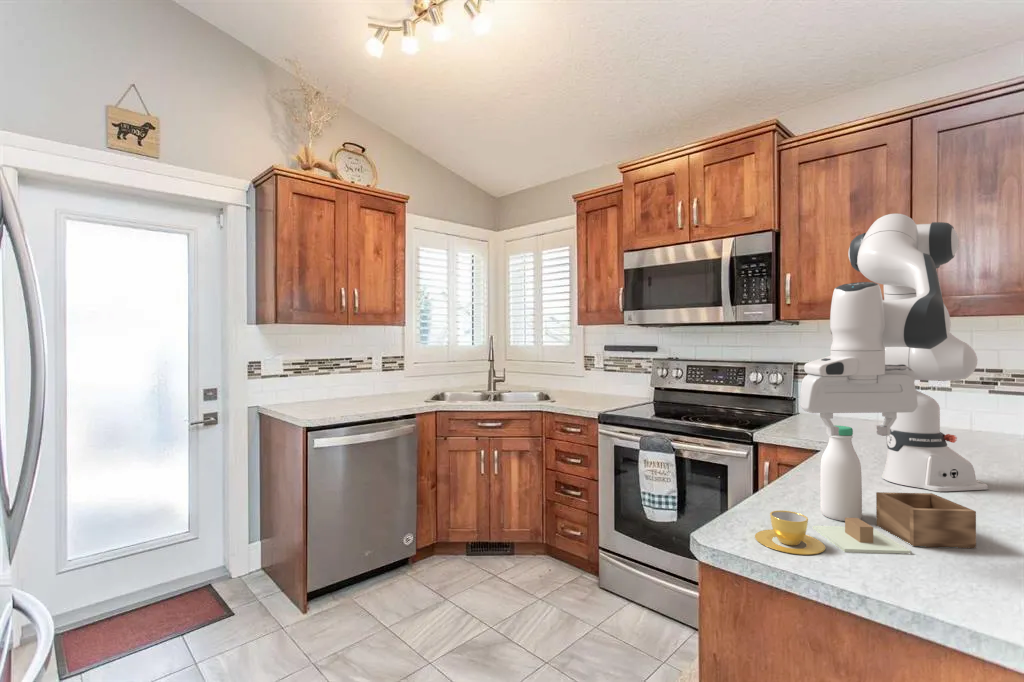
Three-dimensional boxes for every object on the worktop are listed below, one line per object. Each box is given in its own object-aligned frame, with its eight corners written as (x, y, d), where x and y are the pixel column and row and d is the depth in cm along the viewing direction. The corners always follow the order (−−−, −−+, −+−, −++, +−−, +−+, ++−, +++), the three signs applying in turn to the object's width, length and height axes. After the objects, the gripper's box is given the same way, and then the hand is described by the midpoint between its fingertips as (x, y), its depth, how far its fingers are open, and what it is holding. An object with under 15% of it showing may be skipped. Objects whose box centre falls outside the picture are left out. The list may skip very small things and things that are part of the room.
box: (932, 526, 105) (931, 493, 105) (976, 548, 94) (975, 511, 94) (876, 525, 106) (876, 492, 106) (913, 546, 95) (913, 509, 95)
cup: (818, 562, 89) (818, 532, 89) (747, 545, 97) (746, 517, 97) (830, 542, 98) (830, 514, 98) (764, 527, 106) (763, 501, 106)
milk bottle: (868, 523, 106) (868, 430, 106) (828, 521, 108) (828, 429, 108) (852, 511, 114) (851, 424, 114) (814, 509, 116) (814, 423, 116)
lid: (871, 533, 103) (871, 512, 103) (911, 557, 91) (911, 534, 91) (812, 531, 104) (812, 511, 104) (844, 555, 93) (844, 532, 93)
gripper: (902, 363, 100) (903, 431, 100) (795, 364, 102) (796, 432, 102) (925, 365, 94) (926, 438, 94) (811, 366, 95) (812, 438, 96)
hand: (857, 435), depth 98 cm, fingers open, 8 cm apart
